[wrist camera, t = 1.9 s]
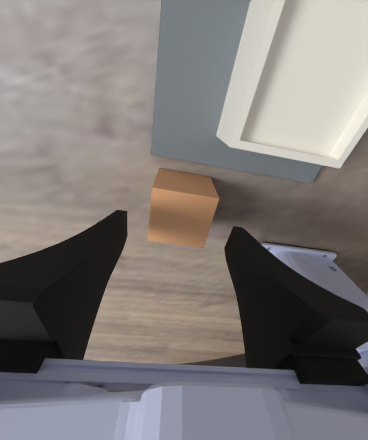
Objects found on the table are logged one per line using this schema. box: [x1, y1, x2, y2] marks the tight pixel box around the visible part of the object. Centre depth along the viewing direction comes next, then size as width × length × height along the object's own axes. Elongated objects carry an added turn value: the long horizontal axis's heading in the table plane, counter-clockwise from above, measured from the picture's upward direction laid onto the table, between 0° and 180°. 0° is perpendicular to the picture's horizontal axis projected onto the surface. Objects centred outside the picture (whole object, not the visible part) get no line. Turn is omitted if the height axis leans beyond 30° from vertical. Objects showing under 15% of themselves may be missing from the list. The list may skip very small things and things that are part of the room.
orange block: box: [148, 168, 219, 248], centre depth 15 cm, size 5×5×4 cm
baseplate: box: [151, 0, 323, 184], centre depth 12 cm, size 14×9×1 cm, turn 80°
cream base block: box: [216, 0, 368, 168], centre depth 9 cm, size 7×7×4 cm
